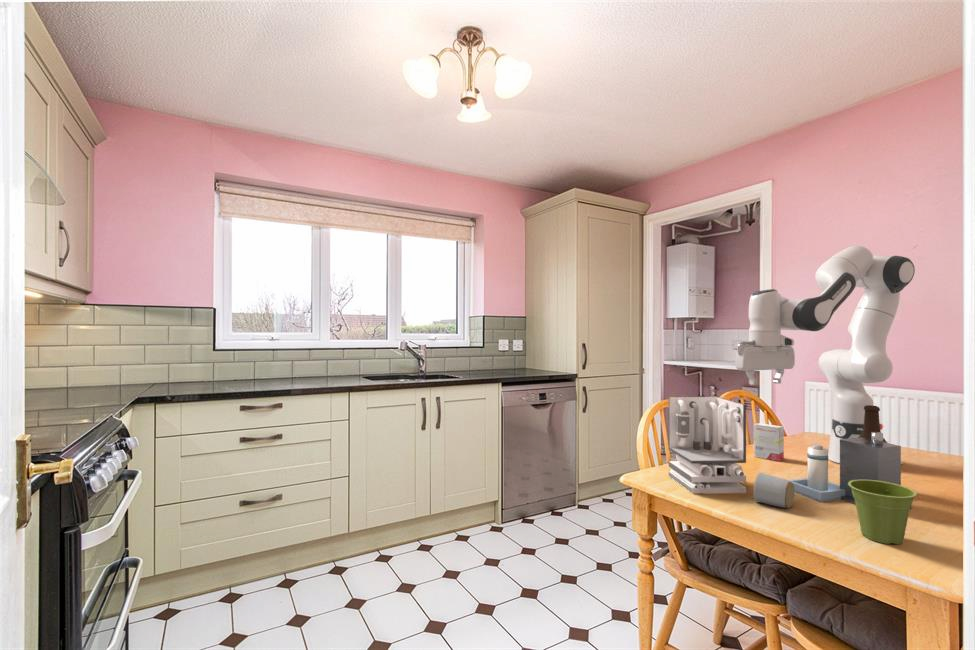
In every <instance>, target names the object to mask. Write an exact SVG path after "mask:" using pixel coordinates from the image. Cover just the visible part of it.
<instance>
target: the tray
mask: <svg viewBox="0 0 975 650" xmlns="http://www.w3.org/2000/svg"><path fill="white" fill-rule="evenodd" d="M787 480H788V481H790V482H792V483H793V485H794V494H799V495H800V494H801V496H804V497H806V498H810V499H811V500H813V501H817V502H819V503H827V502H834V501H842V500H841V496H845V490H844V489H840V484H838V483H835V482H831V481H829V480H828V491H818V490H815V489H812V488H810V487H808V477H805V478H795V479H794V478H793V479H787Z"/></svg>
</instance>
